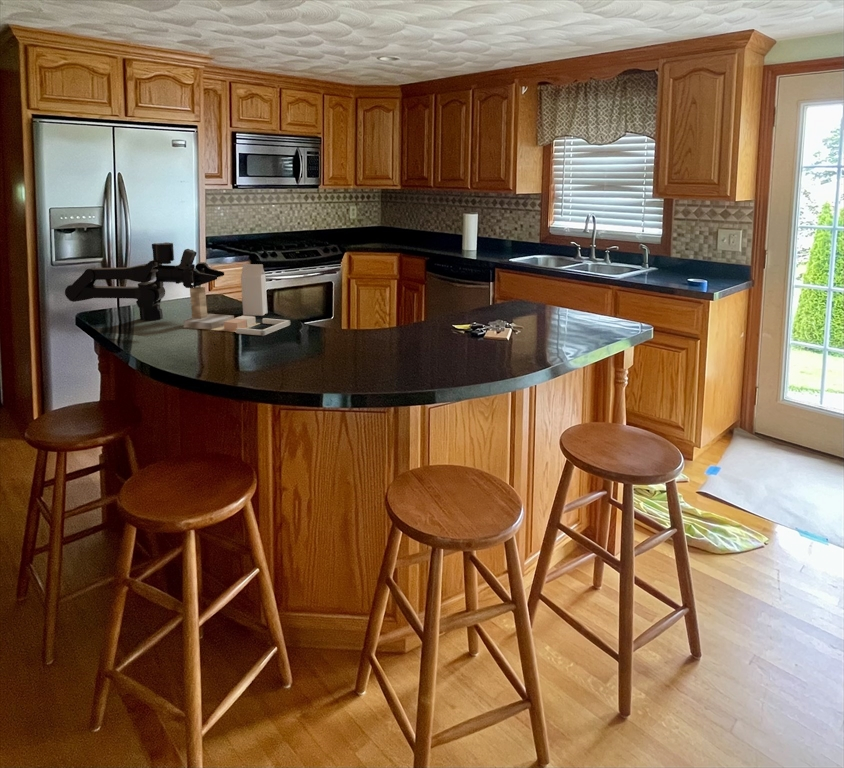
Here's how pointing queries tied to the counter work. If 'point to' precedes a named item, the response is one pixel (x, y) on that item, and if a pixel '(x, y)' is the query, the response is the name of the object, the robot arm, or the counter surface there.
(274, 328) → the tray
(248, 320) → the tile
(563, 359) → the counter surface
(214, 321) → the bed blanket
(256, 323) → the board
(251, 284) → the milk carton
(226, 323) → the tile
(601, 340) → the counter surface
